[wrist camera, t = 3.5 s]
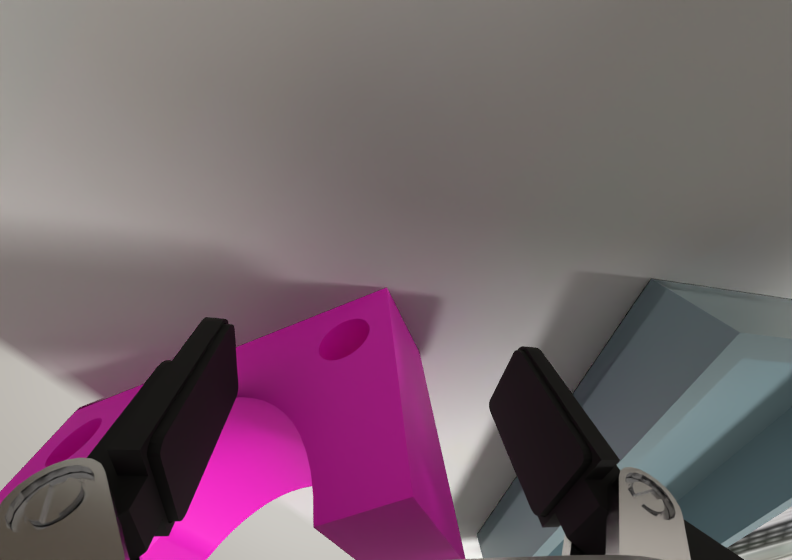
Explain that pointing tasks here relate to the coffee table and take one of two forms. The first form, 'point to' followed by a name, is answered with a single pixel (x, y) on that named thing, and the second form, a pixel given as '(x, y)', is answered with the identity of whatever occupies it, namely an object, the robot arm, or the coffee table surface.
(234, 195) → the coffee table surface
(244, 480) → the toy block
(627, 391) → the slate tray
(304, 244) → the coffee table surface
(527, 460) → the robot arm
